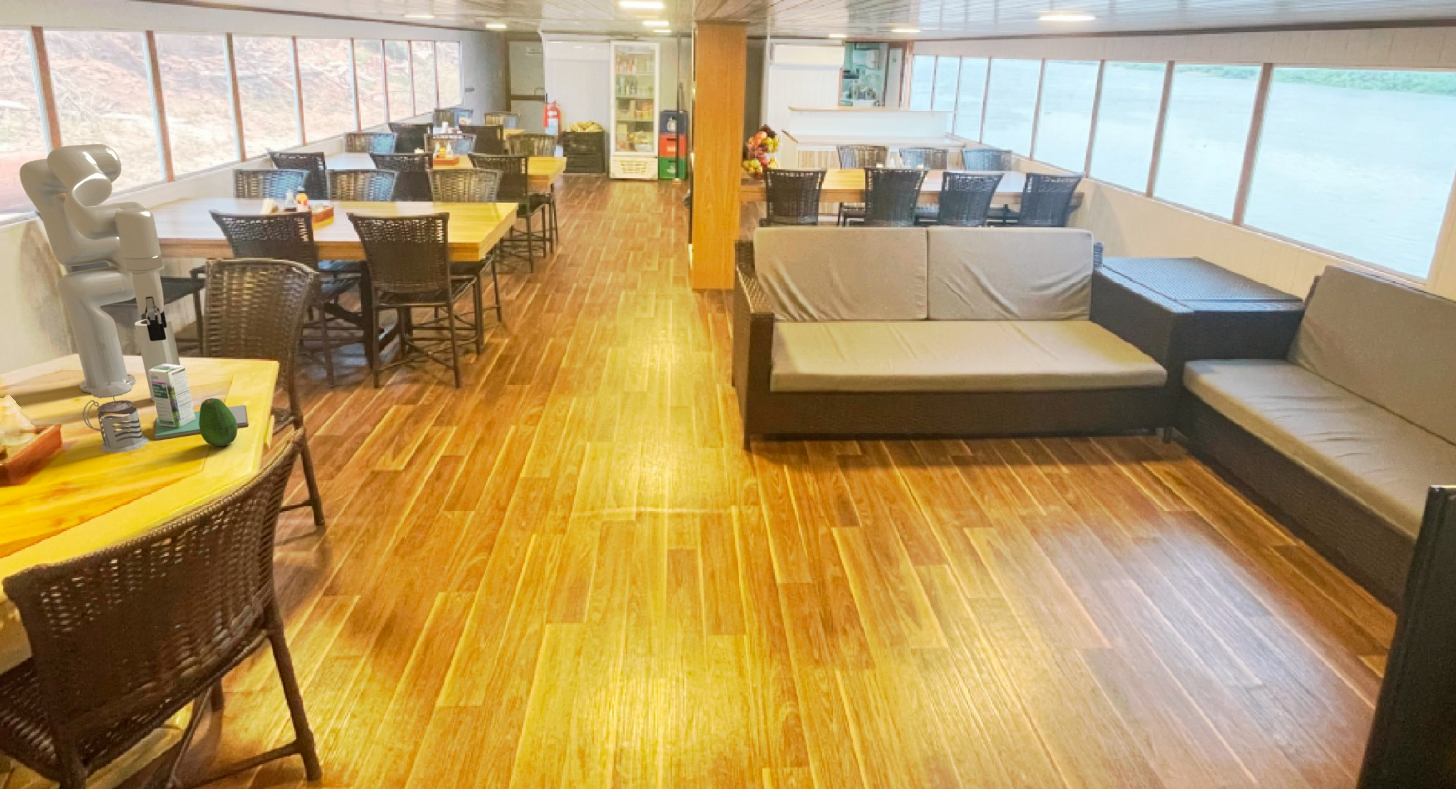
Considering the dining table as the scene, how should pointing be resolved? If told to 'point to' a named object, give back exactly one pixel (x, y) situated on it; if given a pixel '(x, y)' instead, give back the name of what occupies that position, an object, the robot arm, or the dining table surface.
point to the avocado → (217, 423)
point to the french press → (113, 438)
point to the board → (197, 425)
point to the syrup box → (171, 395)
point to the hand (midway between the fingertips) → (158, 333)
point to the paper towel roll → (156, 349)
